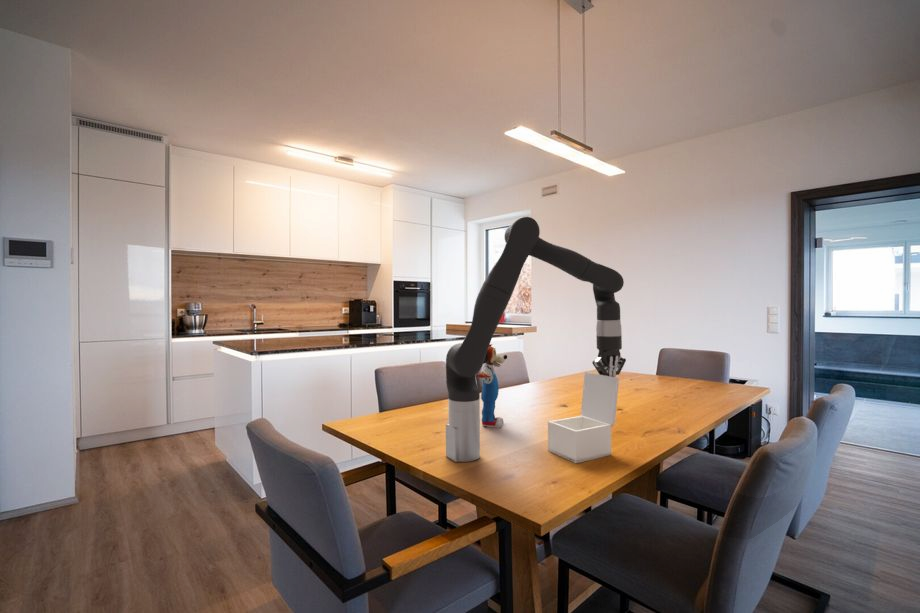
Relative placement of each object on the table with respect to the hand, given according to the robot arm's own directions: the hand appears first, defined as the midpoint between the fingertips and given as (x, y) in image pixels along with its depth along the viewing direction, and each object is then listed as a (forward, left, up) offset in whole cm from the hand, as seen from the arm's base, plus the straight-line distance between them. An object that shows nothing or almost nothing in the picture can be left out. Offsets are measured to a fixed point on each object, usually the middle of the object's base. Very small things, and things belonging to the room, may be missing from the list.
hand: (609, 388), depth 136 cm
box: (-13, 0, -18) cm, 22 cm away
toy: (-19, +38, -18) cm, 46 cm away
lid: (-5, 0, -2) cm, 6 cm away
